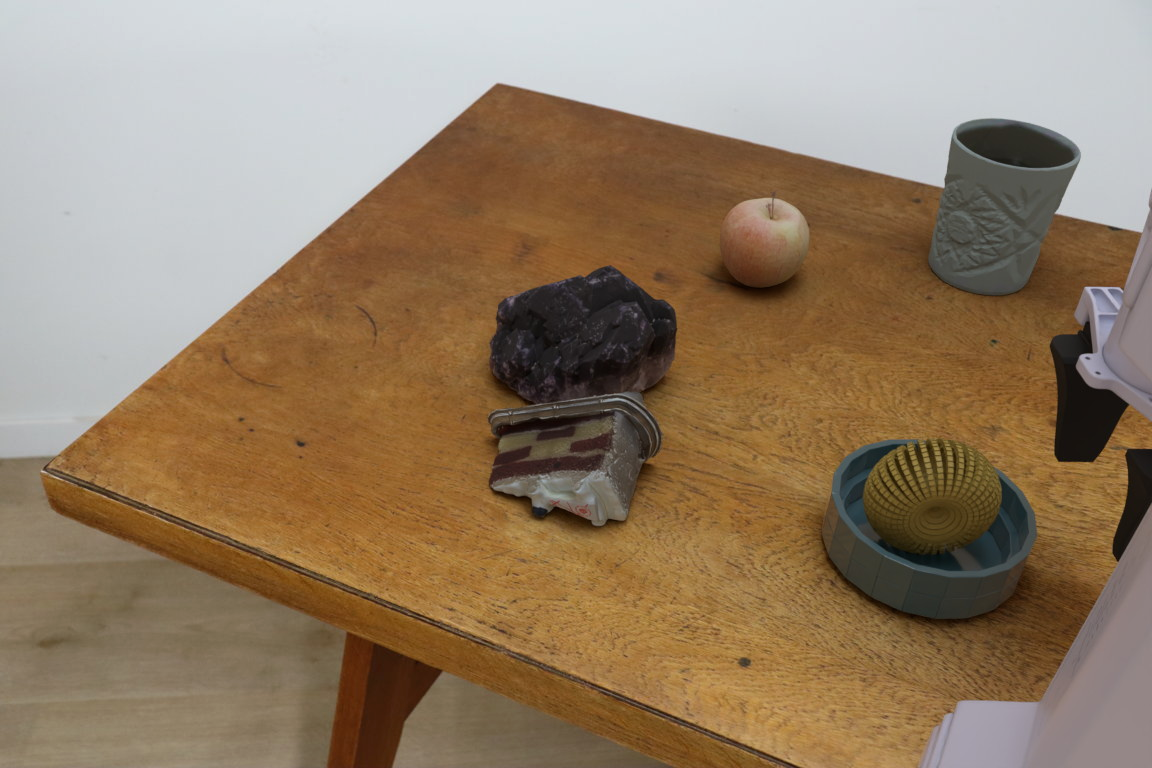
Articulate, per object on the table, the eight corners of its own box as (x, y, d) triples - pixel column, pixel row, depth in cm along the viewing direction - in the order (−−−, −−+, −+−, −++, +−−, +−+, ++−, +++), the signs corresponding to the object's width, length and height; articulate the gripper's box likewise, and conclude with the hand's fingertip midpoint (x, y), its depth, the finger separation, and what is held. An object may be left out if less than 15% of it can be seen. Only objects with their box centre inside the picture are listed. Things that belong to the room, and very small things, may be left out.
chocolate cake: (446, 504, 71) (570, 453, 63) (477, 416, 75) (596, 357, 67) (555, 572, 75) (683, 533, 67) (578, 485, 79) (702, 438, 71)
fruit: (722, 249, 98) (734, 166, 93) (805, 264, 96) (822, 181, 92) (706, 293, 92) (718, 207, 87) (795, 309, 91) (812, 223, 86)
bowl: (1048, 623, 65) (1070, 575, 62) (847, 626, 64) (861, 578, 61) (977, 484, 74) (993, 438, 72) (801, 485, 73) (812, 439, 71)
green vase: (924, 291, 94) (960, 161, 87) (913, 233, 102) (946, 110, 95) (1047, 306, 93) (1094, 175, 86) (1027, 246, 101) (1068, 123, 94)
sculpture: (973, 526, 70) (1008, 429, 65) (988, 573, 67) (1027, 474, 62) (846, 517, 70) (872, 419, 66) (856, 563, 67) (884, 464, 62)
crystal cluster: (487, 325, 88) (476, 219, 81) (656, 309, 89) (658, 203, 82) (496, 443, 78) (483, 334, 71) (686, 425, 79) (691, 315, 72)
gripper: (1054, 211, 56) (983, 419, 65) (1192, 383, 45) (1084, 609, 53) (1188, 214, 57) (1100, 420, 65) (1359, 385, 45) (1226, 609, 54)
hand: (1102, 505), depth 59 cm, fingers open, 7 cm apart
